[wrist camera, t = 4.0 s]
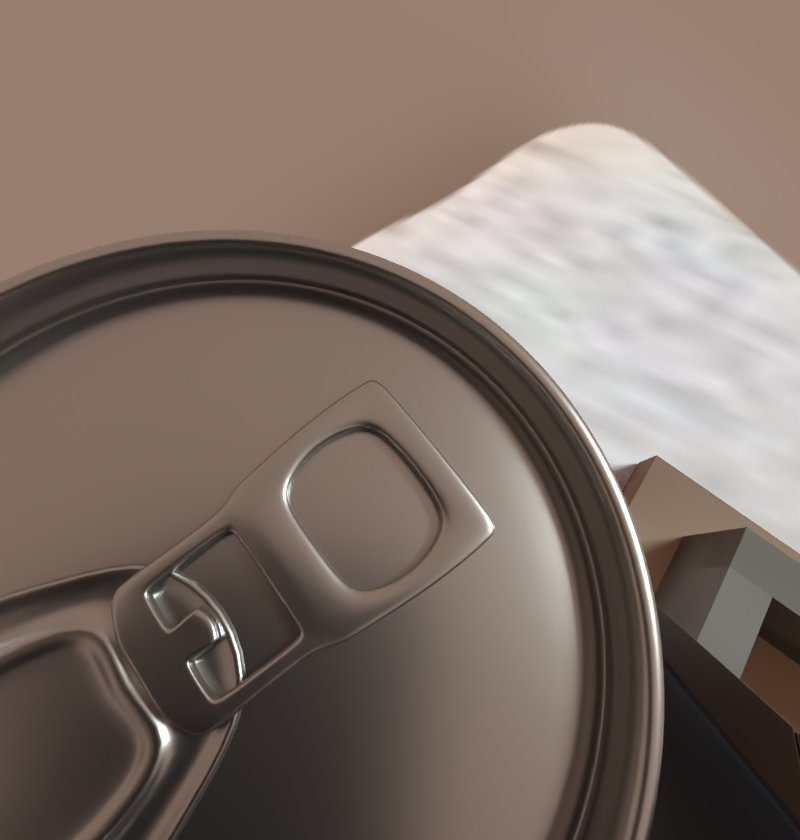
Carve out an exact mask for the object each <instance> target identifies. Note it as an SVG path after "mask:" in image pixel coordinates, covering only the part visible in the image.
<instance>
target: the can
mask: <svg viewBox="0 0 800 840" xmlns="http://www.w3.org/2000/svg"><path fill="white" fill-rule="evenodd" d="M663 736H664V670H663V657H662V645H661V637H660V628H659V621H658V615H657V609H656V603H655V597H654V593H653V588H652V583H651V578H650V574H649V570H648V566H647V562H646V558H645V555H644V551H643V548H642V545H641V541H640V538H639V535H638V532H637V529H636V526H635V523H634V520H633V517H632V515H631V512H630V510H629V507H628V505H627V502H626V500H625V497H624V495H623V493H622V490H621V488H620V486H619V483H618V481H617V479H616V477H615V475H614V473H613V471H612V469H611V467H610V465H609V463H608V461H607V459H606V457H605V455H604V453H603V452H602V450H601V448H600V446H599V444H598V443H597V441H596V439H595V438H594V436H593V434H592V433H591V431H590V429H589V428H588V426H587V425H586V423H585V422H584V420H583V419H582V417H581V416H580V414H579V413H578V411H577V410H576V408H575V407H574V406H573V404H572V403H571V402H570V400H569V399H568V397H567V396H566V395H565V394H564V392H563V391H562V390H561V389H560V387H559V386H558V385H557V384H556V382H555V381H554V380H553V379H552V378H551V376H550V375H549V374H548V373H547V372H546V371H545V370H544V368H543V367H542V366H541V365H540V364H539V363H538V362H537V361H536V360H535V359H534V358H533V357H532V356H531V355H530V354H529V353H528V352H527V351H526V350H525V349H524V348H523V347H522V346H521V345H520V344H519V343H518V342H517V341H516V340H515V339H514V338H512V337H511V336H510V335H509V334H508V333H507V332H506V331H505V330H503V329H502V328H501V327H500V326H498V325H497V324H496V323H495V322H494V321H492V320H491V319H490V318H489V317H487V316H486V315H485V314H483V313H482V312H481V311H479V310H478V309H476V308H475V307H474V306H472V305H471V304H469V303H468V302H466V301H465V300H463V299H462V298H460V297H459V296H457V295H455V294H454V293H452V292H451V291H449V290H447V289H446V288H444V287H442V286H440V285H439V284H437V283H435V282H433V281H432V280H430V279H428V278H426V277H424V276H422V275H420V274H418V273H416V272H414V271H412V270H409V269H407V268H405V267H403V266H401V265H398V264H396V263H393V262H391V261H388V260H386V259H383V258H381V257H378V256H375V255H372V254H370V253H367V252H364V251H360V250H357V249H354V248H351V247H347V246H344V245H340V244H336V243H332V242H328V241H324V240H319V239H314V238H309V237H304V236H298V235H291V234H284V233H275V232H266V231H251V230H201V231H200V230H199V231H186V232H174V233H166V234H158V235H151V236H145V237H139V238H133V239H128V240H123V241H119V242H114V243H110V244H106V245H102V246H98V247H94V248H90V249H87V250H83V251H80V252H76V253H73V254H70V255H67V256H64V257H61V258H58V259H55V260H52V261H50V262H47V263H44V264H42V265H39V266H36V267H34V268H31V269H29V270H26V271H24V272H22V273H19V274H17V275H14V276H12V277H10V278H8V279H6V280H4V281H1V282H0V840H649V838H650V833H651V829H652V824H653V818H654V813H655V807H656V801H657V795H658V788H659V780H660V773H661V762H662V751H663Z"/></svg>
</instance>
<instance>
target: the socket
mask: <svg viewBox="0 0 800 840" xmlns="http://www.w3.org/2000/svg"><path fill="white" fill-rule="evenodd" d="M623 495H624V497H625V500H626V502H627V505H628V507H629V510H630V512H631V515H632V517H633V520H634V523H635V526H636V529H637V532H638V535H639V538H640V541H641V545H642V548H643V551H644V555H645V558H646V562H647V566H648V570H649V574H650V578H651V583H652V588H653V593H654V597H655V603H656V605H657V606H659V607H660V608H661V609H662V610H663V611H664V612H665V613H666V614H668V615H669V616H670V617H671V618H672V619H673V620H674V621H675V622H676V623H678V624H679V625H680V626H681V627H682V628H683V629H684V630H685V631H686V632H688V633H689V634H690V635H691V636H692V637H693V638H694V639H695V640H697V641H698V642H699V643H700V644H701V645H702V646H703V647H704V648H705V649H707V650H708V651H709V652H710V653H711V654H712V655H713V656H714V657H715V658H717V659H718V660H719V661H720V662H721V663H722V664H723V665H724V666H726V667H727V668H728V669H729V670H730V671H731V672H732V673H733V674H734V675H736V676H737V677H738V678H739V679H740V680H741V681H742V682H743V683H745V684H746V685H747V686H748V687H749V688H750V689H751V690H752V691H753V692H755V693H756V694H757V695H758V696H759V697H760V698H761V699H762V700H763V701H765V702H766V703H767V704H768V705H769V706H770V707H771V708H772V709H774V710H775V711H776V712H777V713H778V714H779V715H780V716H781V717H782V718H784V719H785V720H786V721H787V722H788V723H789V724H790V725H791V726H792V727H793V728H794V731H795V732H798V733H800V554H799V553H797V552H796V551H794V550H793V549H792V548H790V547H789V546H787V545H786V544H784V543H783V542H781V541H780V540H778V539H777V538H776V537H774V536H773V535H771V534H770V533H768V532H767V531H765V530H764V529H763V528H761V527H760V526H758V525H757V524H755V523H754V522H752V521H751V520H750V519H748V518H747V517H745V516H744V515H742V514H741V513H739V512H738V511H737V510H735V509H734V508H732V507H731V506H729V505H728V504H726V503H725V502H724V501H722V500H721V499H719V498H718V497H716V496H715V495H713V494H712V493H710V492H709V491H708V490H706V489H705V488H703V487H702V486H700V485H699V484H697V483H696V482H695V481H693V480H692V479H690V478H689V477H687V476H686V475H684V474H683V473H682V472H680V471H679V470H677V469H676V468H674V467H673V466H671V465H670V464H669V463H667V462H666V461H664V460H663V459H661V458H660V457H658V456H654V457H652V458H649V459H647V460H645V461H642V462H640V463H639V464H638V466H637V467H636V469H635V471H634V473H633V475H632V476H631V478H630V480H629V482H628V484H627V485H626V487H625V489H624V491H623Z"/></svg>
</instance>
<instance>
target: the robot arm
mask: <svg viewBox="0 0 800 840" xmlns="http://www.w3.org/2000/svg"><path fill="white" fill-rule="evenodd" d="M656 609H657V615H658V621H659V628H660V637H661V645H662V657H663V670H664V736H663V751H662V762H661V773H660V780H659V788H658V795H657V801H656V807H655V813H654V818H653V824H652V829H651V833H650V838H649V840H800V733H798V732H795V731H794V728H793V727H792V726H791V725H790V724H789V723H788V722H787V721H786V720H785V719H784V718H782V717H781V716H780V715H779V714H778V713H777V712H776V711H775V710H774V709H772V708H771V707H770V706H769V705H768V704H767V703H766V702H765V701H763V700H762V699H761V698H760V697H759V696H758V695H757V694H756V693H755V692H753V691H752V690H751V689H750V688H749V687H748V686H747V685H746V684H745V683H743V682H742V681H741V680H740V679H739V678H738V677H737V676H736V675H734V674H733V673H732V672H731V671H730V670H729V669H728V668H727V667H726V666H724V665H723V664H722V663H721V662H720V661H719V660H718V659H717V658H715V657H714V656H713V655H712V654H711V653H710V652H709V651H708V650H707V649H705V648H704V647H703V646H702V645H701V644H700V643H699V642H698V641H697V640H695V639H694V638H693V637H692V636H691V635H690V634H689V633H688V632H686V631H685V630H684V629H683V628H682V627H681V626H680V625H679V624H678V623H676V622H675V621H674V620H673V619H672V618H671V617H670V616H669V615H668V614H666V613H665V612H664V611H663V610H662V609H661V608H660V607H659V606H657V605H656Z"/></svg>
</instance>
